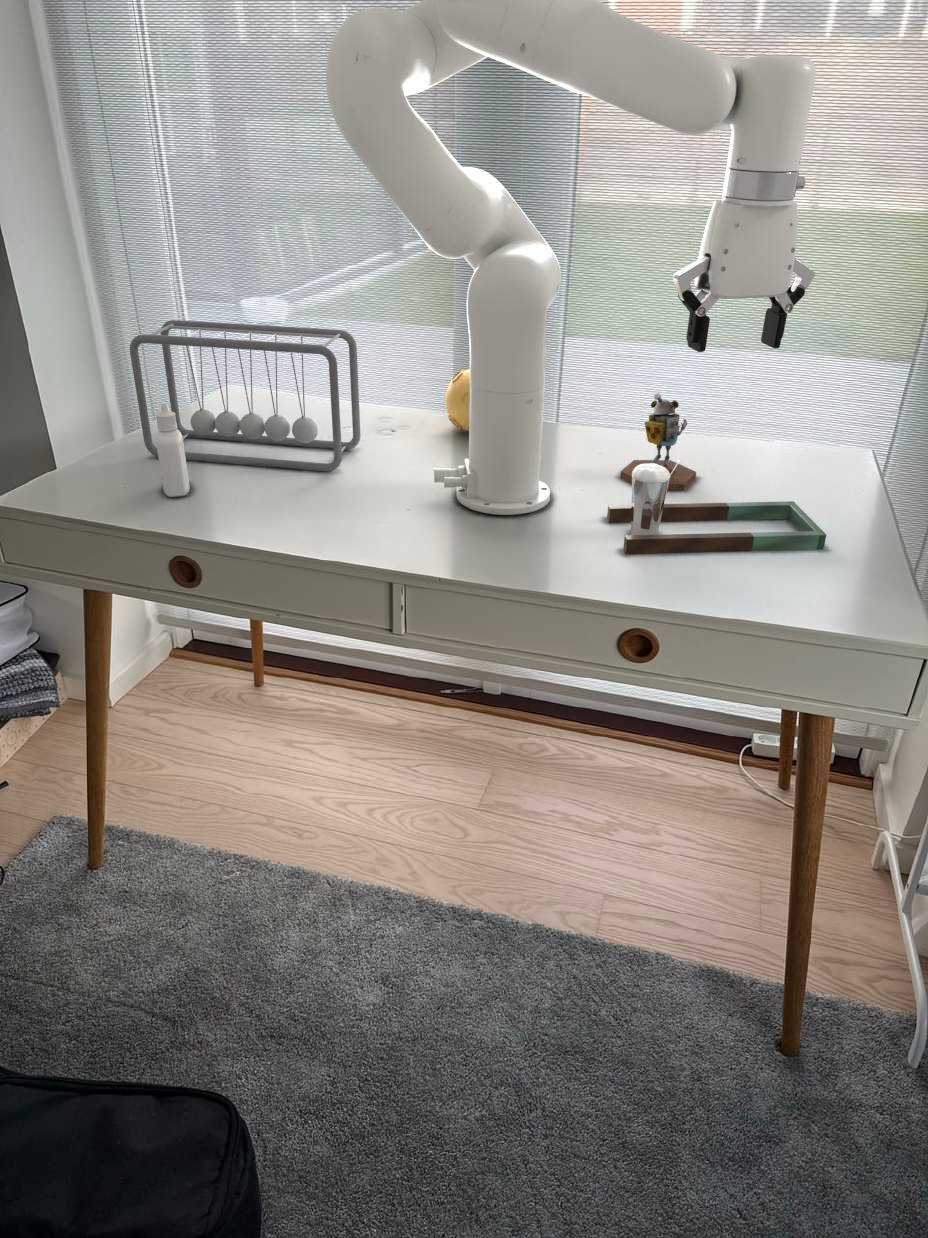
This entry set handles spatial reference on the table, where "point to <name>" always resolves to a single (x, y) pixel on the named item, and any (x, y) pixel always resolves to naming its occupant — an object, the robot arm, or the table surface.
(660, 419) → the robot figurine
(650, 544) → the slide track
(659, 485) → the milkshake
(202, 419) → the newton's cradle
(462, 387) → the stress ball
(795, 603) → the table surface
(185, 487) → the eye dropper bottle
